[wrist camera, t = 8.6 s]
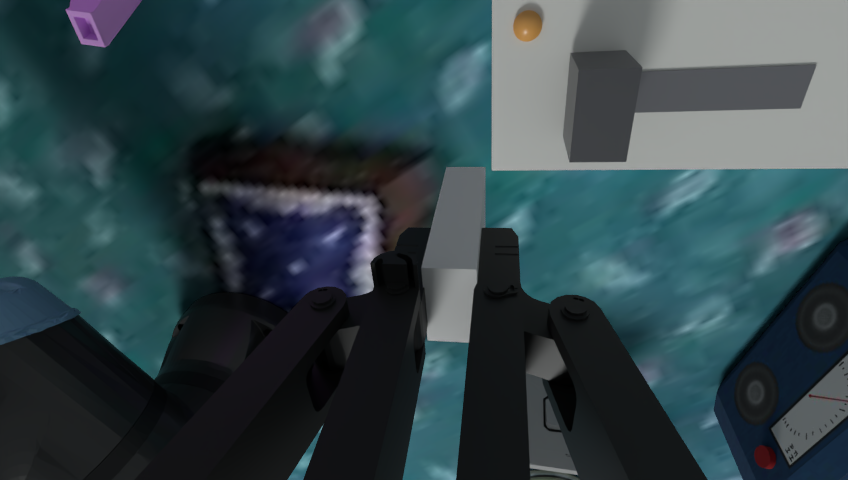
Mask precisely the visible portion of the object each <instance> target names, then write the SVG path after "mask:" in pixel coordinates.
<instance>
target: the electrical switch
mask: <svg viewBox="0 0 848 480" xmlns="http://www.w3.org/2000/svg"><path fill="white" fill-rule="evenodd" d="M526 390H527V413H528V435H529V458H530V468H533V469H540V470H547V471H554V472H561V473H568V474H575V475H578V474H577V471H576V469H575V466H574V463H573V461H572V458H571V456H570V453H569V450H568V448H567V445H566V443H565V440H564V437H563V435H562V432H561V430H560V427H559V424H558V422H557V419H556V417H555V414H554V412H553V409H552V406H551V404H550V401H549V399H548V396H547V393H546V391H545V388H544V386H543V382H542V378H540V377H537V376H534V375H531V374H528V373H526Z"/></svg>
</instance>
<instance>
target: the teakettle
mask: <svg viewBox="0 0 848 480" xmlns="http://www.w3.org/2000/svg"><path fill="white" fill-rule="evenodd" d="M141 1H142V0H71V1H70V7H69V8H67V9H65V10H66V12H67V14H68V17H69V19H70V21H71V23H72V25H73V27H74V29H75V32H76V34H77V36H78V38H79V40H80V42H81V44H85V45H92V46H99V47H106V46H108V45H109V44H110V43H111V41H112V40H113V39H114V37H115V36H116V35H117V33H118V32H119V31H120V29H121V28H122V27H123V25H124V24H125V23H126V21H127V20H128V19H129V17H130V16H131V15H132V13H133V12H134V11H135V9H136V8H137V6H138V5H139V4H140V2H141Z"/></svg>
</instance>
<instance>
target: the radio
mask: <svg viewBox="0 0 848 480" xmlns="http://www.w3.org/2000/svg"><path fill="white" fill-rule="evenodd" d="M714 412H715V414H716V417H717V419H718V422H719V424H720V426H721V429H722V431H723V433H724V436H725V438H726V440H727V443H728V445H729V448H730V450H731V452H732V455H733V457H734V459H735V462H736V464H737V466H738V469H739V471H740V474H741V476H742V478H743V480H848V239H847V240H845V241H842V242H840V243H839V244H838V245H837V246H836V247H835V249H834V250H833V251H832V252H831V253H830V255H829V256H828V257H827V258H826V259H825V261H824V262H823V263H822V264H821V265H820V266H819V268H818V269H817V270H816V271H815V272H814V274H813V275H812V276H811V277H810V278H809V280H808V281H807V282H806V283H805V284H804V285H803V287H802V288H801V289H800V290H799V291H798V293H797V294H796V295H795V296H794V297H793V299H792V300H791V301H790V302H789V303H788V304H787V306H786V307H785V308H784V309H783V310H782V312H781V313H780V314H779V315H778V316H777V318H776V319H775V320H774V321H773V322H772V323H771V325H770V326H769V327H768V328H767V329H766V331H765V332H764V333H763V334H762V335H761V337H760V338H759V339H758V340H757V341H756V342H755V344H754V345H753V346H752V347H751V348H750V350H749V351H748V352H747V353H746V354H745V356H744V357H743V358H742V359H741V360H740V361H739V363H738V364H737V365H736V366H735V367H734V369H733V370H732V371H731V372H730V373H729V375H728V376H727V377H726V378H725V379H724V380H723V382H722V383H721V385H720V387H719V389H718V391H717V395H716V400H715V406H714Z"/></svg>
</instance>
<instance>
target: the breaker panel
mask: <svg viewBox="0 0 848 480" xmlns="http://www.w3.org/2000/svg"><path fill="white" fill-rule="evenodd" d="M617 50H626V51H627V52H628V53H629V54H630V55H631V56H632V57H633V58H634V59H635V60H636V61H637V62H638V63H639V64H640V65H641V66H642V67H643V68H642V73H641V79H640V85H639V91H638V97H637V102H636V108H635V114H634V120H633V126H632V131H631V137H630V143H629V149H628V155H627V160H626V162H569V159H568V155H567V151H566V147H565V143H564V139H563V129H564V117H565V106H566V95H567V84H568V73H569V61H570V53H575V52H596V51H617ZM822 168H848V0H492V170H654V169H822Z"/></svg>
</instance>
